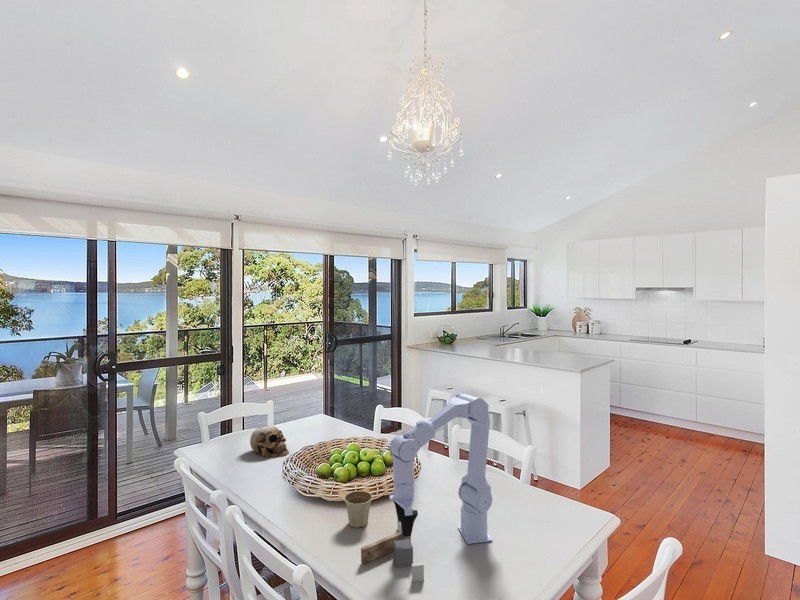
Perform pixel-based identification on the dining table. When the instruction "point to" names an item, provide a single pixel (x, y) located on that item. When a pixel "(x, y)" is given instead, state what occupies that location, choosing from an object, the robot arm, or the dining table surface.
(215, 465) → the dining table surface
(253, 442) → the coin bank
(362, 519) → the flower pot
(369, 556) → the door
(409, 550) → the block
